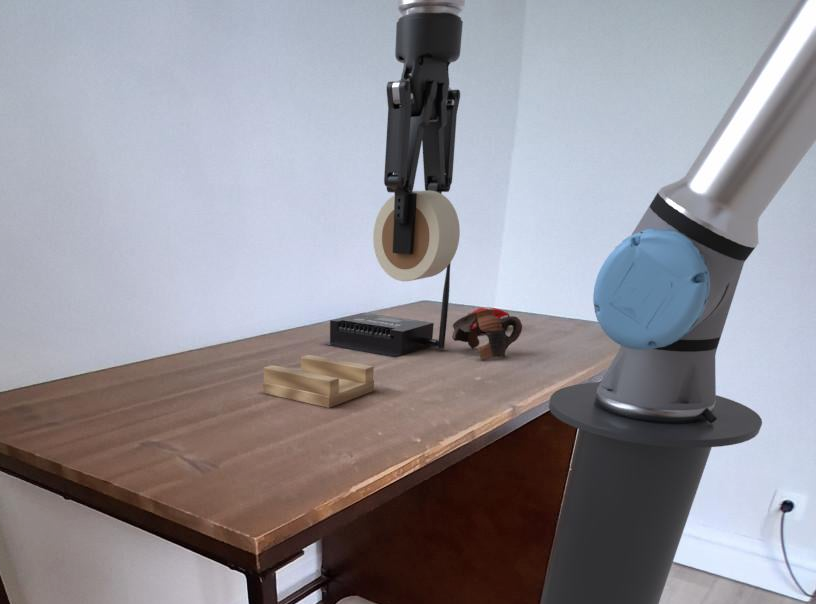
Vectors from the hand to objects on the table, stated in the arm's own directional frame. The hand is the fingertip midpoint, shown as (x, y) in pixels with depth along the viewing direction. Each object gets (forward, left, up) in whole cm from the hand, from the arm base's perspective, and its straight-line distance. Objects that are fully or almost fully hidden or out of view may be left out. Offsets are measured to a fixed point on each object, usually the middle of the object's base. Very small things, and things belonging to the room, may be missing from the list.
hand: (415, 251), depth 89 cm
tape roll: (0, 0, -3) cm, 3 cm away
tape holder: (+9, +9, -18) cm, 22 cm away
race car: (+11, -48, -18) cm, 52 cm away
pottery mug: (+1, -29, -18) cm, 34 cm away
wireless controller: (+18, -24, -18) cm, 35 cm away
